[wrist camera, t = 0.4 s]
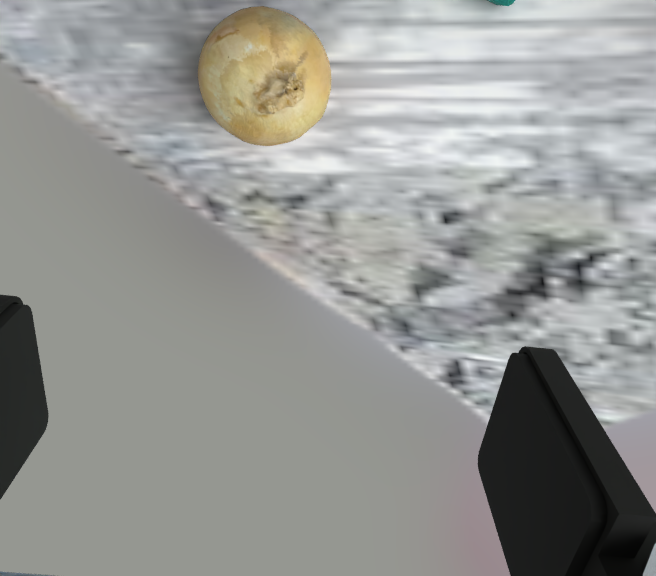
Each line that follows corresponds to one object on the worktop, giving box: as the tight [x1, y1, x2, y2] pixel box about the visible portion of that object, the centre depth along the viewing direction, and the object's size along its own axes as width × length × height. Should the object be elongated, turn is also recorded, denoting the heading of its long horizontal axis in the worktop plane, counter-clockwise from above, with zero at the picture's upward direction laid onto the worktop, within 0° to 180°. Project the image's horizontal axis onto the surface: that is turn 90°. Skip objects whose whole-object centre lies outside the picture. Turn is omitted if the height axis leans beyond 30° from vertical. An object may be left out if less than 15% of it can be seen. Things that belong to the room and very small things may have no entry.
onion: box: [198, 6, 331, 146], centre depth 34 cm, size 8×8×7 cm
